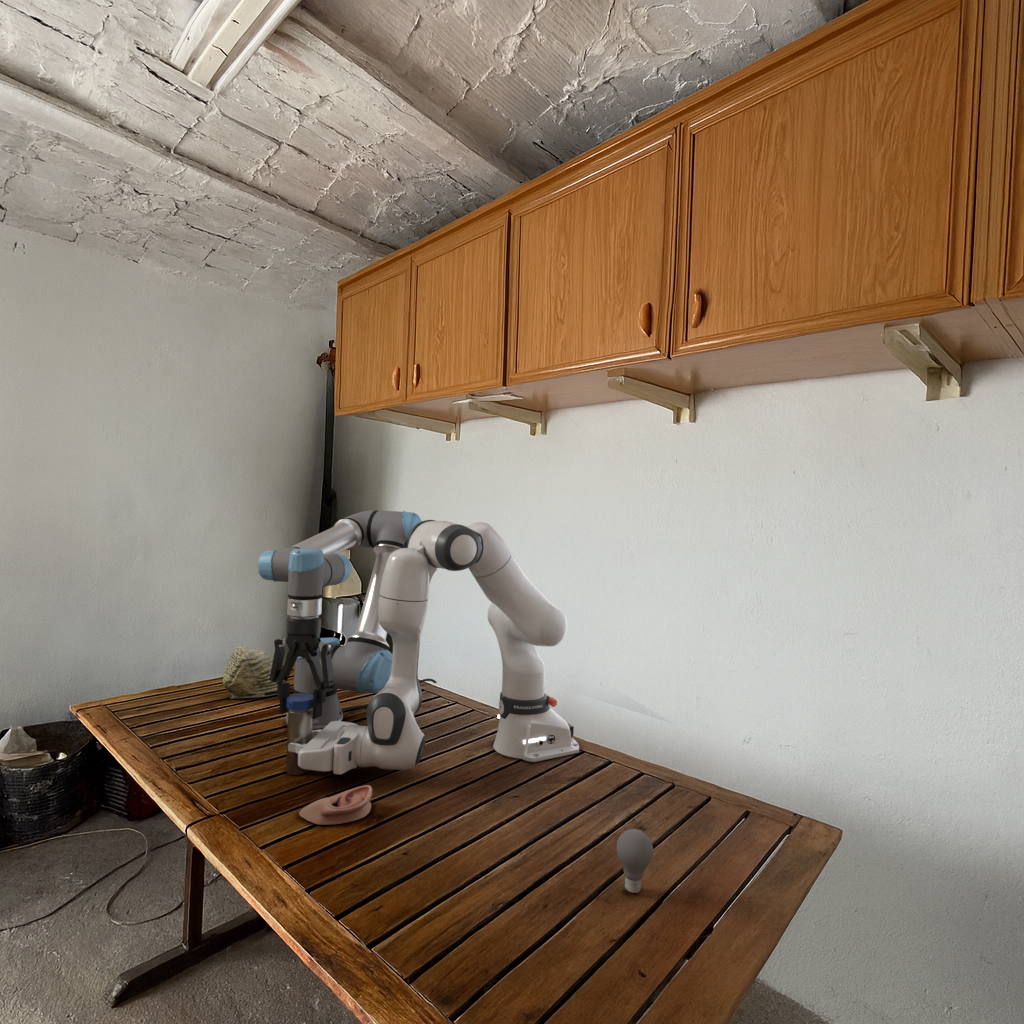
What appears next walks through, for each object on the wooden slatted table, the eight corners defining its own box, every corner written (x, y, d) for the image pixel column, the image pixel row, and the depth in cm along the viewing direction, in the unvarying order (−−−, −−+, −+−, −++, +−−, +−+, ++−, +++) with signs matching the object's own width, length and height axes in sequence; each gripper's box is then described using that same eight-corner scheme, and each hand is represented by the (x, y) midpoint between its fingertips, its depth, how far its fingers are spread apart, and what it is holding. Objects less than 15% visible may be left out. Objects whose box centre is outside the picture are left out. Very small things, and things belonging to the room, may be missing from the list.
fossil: (218, 695, 195) (220, 647, 195) (278, 685, 208) (279, 640, 207) (228, 703, 189) (230, 653, 188) (289, 692, 201) (290, 645, 201)
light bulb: (610, 879, 108) (613, 822, 108) (644, 879, 109) (647, 822, 109) (619, 902, 102) (622, 840, 102) (655, 901, 103) (658, 840, 103)
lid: (305, 699, 150) (305, 691, 150) (320, 706, 146) (320, 697, 146) (281, 705, 145) (281, 696, 145) (295, 712, 141) (296, 703, 141)
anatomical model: (291, 800, 123) (320, 775, 134) (290, 820, 123) (320, 794, 134) (354, 810, 120) (379, 784, 132) (353, 830, 121) (378, 803, 132)
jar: (302, 763, 150) (304, 696, 150) (315, 770, 147) (318, 701, 146) (281, 770, 146) (283, 701, 145) (294, 777, 142) (297, 706, 142)
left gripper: (254, 615, 144) (250, 714, 145) (336, 623, 139) (332, 725, 140) (274, 609, 152) (271, 704, 152) (353, 617, 147) (349, 715, 147)
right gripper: (368, 716, 155) (314, 712, 156) (338, 749, 135) (276, 743, 136) (367, 742, 155) (313, 737, 156) (337, 778, 135) (275, 772, 136)
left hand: (300, 714), depth 146 cm, fingers open, 8 cm apart
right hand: (295, 740), depth 146 cm, fingers closed on jar, 5 cm apart
